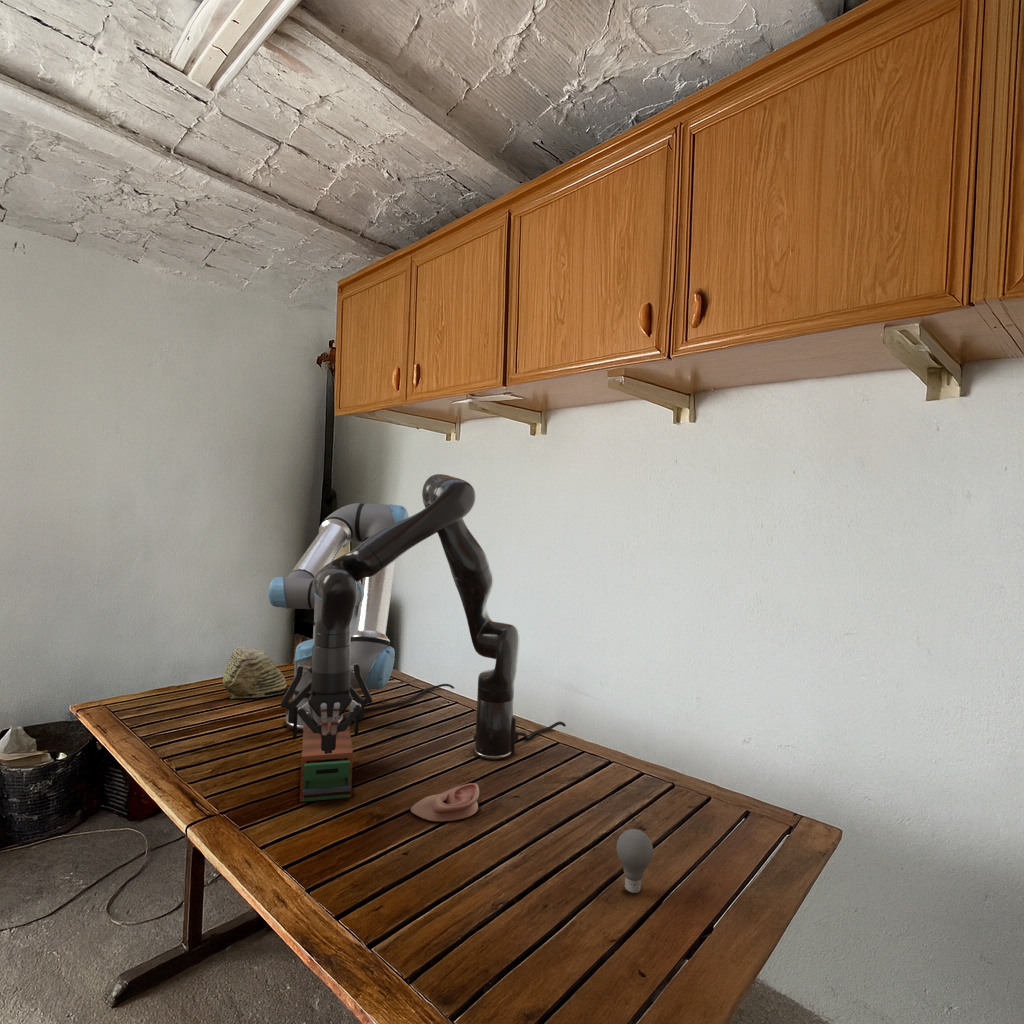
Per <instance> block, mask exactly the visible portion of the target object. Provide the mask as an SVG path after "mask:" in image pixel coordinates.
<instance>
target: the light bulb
mask: <svg viewBox="0 0 1024 1024" xmlns="http://www.w3.org/2000/svg"><path fill="white" fill-rule="evenodd" d="M615 849H616V854H617V857H618V859H619V861H620V863H621V865H622V867H623V873H624V874H623V875H624V876H625V878H624V888H625V890H627V891H628V892H630V893H634V894H635V893H639V892H640V891H641V889H642V887H641V886H642V879H643V877H644V875H645V871H646V868H647V867H648V866H649V864H650V863H651V861H652V859H653V855H654V847H653V843H652V841H651V838H649V836H648V835H647V834H646V833H645V832H643V831H642V830H641V829H636V828H629V829H627V830H625V831H623V832H622V833H621V834H620V835H619V837H618V839H617V841H616V847H615Z"/></svg>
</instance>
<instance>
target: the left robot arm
mask: <svg viewBox="0 0 1024 1024" xmlns="http://www.w3.org/2000/svg"><path fill="white" fill-rule="evenodd" d="M409 517H410V516H409V512H408V510H407V508H406V507H405V506H403V505H397V504H392V503H390V504H383V503H382V504H381V503H361V502H359V503H358V502H356V503H355V502H354V503H350V504H347V505H344V506H342V507H340V508H338V509H336V510H335V511H333V512H332V513H330V514H329V515H328V516H327V517H326V518H324V519H323V521H322V523H321V524H320V526H319V528H318V534H317V535H316V537H315V538H314V540H313V541H312V542H311V544H310V545H309V547H308V548H307V550H306V551H305V552H304V554H303V555H302V556H301V558H299V561H298V562H297V563H296V565H295V566H294V568H293V569H292V570H291V572H289V574H288V575H287V576H283V575H282V576H276V577H273V579H272V580H271V581H270V584H269V586H268V591H267V592H268V593H267V595H268V601H269V604H270V605H271V606H272V607H274V608H284V609H286V610H289V609H294V610H295V609H296V610H313V627H312V628H313V631H312V632H313V633H312V639H307V640H304V641H302V642H300V643H298V644H297V645H296V647H295V655H294V659H293V661H294V670H293V671H294V672H293V679H292V681H291V683H290V684H289V686H288V688H287V690H286V691H285V692H284V695H283V697H282V698H281V701H280V707H281V708H282V709H287V710H286V711H285V726H286V728H287V729H289V730H291V731H292V740H297V737H298V736H297V735H298V732H301V733H303V727H304V725H306V723H305V722H304V721H303V720H302V718H301V717H300V716H299V715H298V713H297V712H298V707H299V706H301V705H302V706H303V705H304V704H305V703H307V702H308V698H309V696H310V694H311V682H312V657H313V650H314V639H315V623H316V620H317V618H318V617H319V616H321V611H322V599H321V598H319V597H318V596H317V595H316V594H315V592H314V590H313V586H312V584H313V579H314V577H315V575H316V574H317V572H318V571H319V570H320V569H321V568H323V567H324V566H325V565H327V564H328V563H330V562H332V561H333V560H335V559H337V556H338V554H339V553H340V551H341V550H342V548H345V547H346V546H348V545H349V544H350V543H351V542H358V543H363V542H364V541H365V540H367V539H368V538H369V537H371V536H372V535H373V534H375V533H376V532H378V531H379V530H381V529H383V528H385V527H387V526H389V525H391V524H394V523H396V522H399V521H401V520H404V519H406V518H409ZM396 561H397V559H396V560H394V561H393V562H392V563H391V564H389V565H388V566H387V567H385V568H384V569H383V570H382V571H380V572H379V573H378V574H376V575H374V576H372V577H366V578H363V579H362V582H361V581H358V582H357V600H356V605H355V609H357V608H358V609H357V616H356V621H355V622H356V623H355V628H354V632H353V633H351V641H350V648H351V674H350V693H351V695H352V700H354V701H355V702H356V703H360V704H361V708H362V710H361V712H360V713H359V714H358V715H357V717H356V718H355V719H354V724H353V725H354V726H353V727H354V728H353V733H354V736H359V725H360V724H359V722H360V721H361V720H362V721H363V720H364V719H365V718H364V717H365V711H371V710H376V709H382V708H388V707H394V706H399V705H403V704H406V703H408V702H411V701H413V700H414V699H416V698H418V697H419V696H421V695H423V694H424V693H426V692H428V691H432V690H435V689H439V688H441V687H448V688H451V689H452V690H454V689H455V687H454V686H453V685H452V684H450V683H441V684H437V685H434V686H430V687H427V688H424V689H423V690H421V691H420V692H418V693H415V694H414V695H413V696H411V697H410V698H407V699H404V700H402V701H398V702H392V703H386V704H379V705H373V706H369V707H365V706H367V705H368V704H372V703H373V696H372V695H371V693H370V690H382V689H383V688H384V687H385V686H386V685H387V684H388V682H389V681H390V678H391V675H392V673H393V670H394V664H395V657H396V656H395V655H396V653H395V651H396V650H395V648H394V647H393V646H390V645H391V640H390V639H389V638H388V636H387V628H388V627H387V626H388V620H389V613H390V606H391V605H390V604H391V597H392V590H393V582H394V575H395V568H396ZM356 689H360V690H361V692H362V694H363V697H362V696H361V695H360V694H359V692H358V691H357V690H356ZM292 696H293V697H292ZM291 698H292V699H291ZM290 700H291V701H290ZM310 710H311V712H310V715H311V716H312V717H313V718H314V720H315V721H316V722H317V723H318V724H321V717H319V716H317V714H316V713H315V712H314V710H313V709H312V708H311V706H310ZM344 713H349V708H346V710H345V711H344V712H343V714H342V715H341V716H339V718H338V723H340V722H341V721H342V720H343V719H344ZM327 721H328V723H331V717H329V718H327Z"/></svg>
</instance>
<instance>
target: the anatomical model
mask: <svg viewBox="0 0 1024 1024" xmlns="http://www.w3.org/2000/svg"><path fill="white" fill-rule="evenodd" d="M479 796H480V787H479V785H478V784H477V783H475V782H470V783H466V784H462V785H458V786H456V787H453V788H451V789H448V790H446V791H443V792H441V793H438V794H433V795H429V796H425V797H424V798H421V799H420V800H418V801H417V802H416V803H414V804H413V805H412V806H411V808H410V812H411V813H412V814H414V815H415V816H417V817H419V818H421V819H423V820H427V821H429V822H451V821H457V820H458V821H459V820H462V819H466V818H469V817H471V816H473V815H475V814H476V813H477V812H478V810H479V804H478V799H479Z"/></svg>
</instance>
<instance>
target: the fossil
mask: <svg viewBox="0 0 1024 1024" xmlns="http://www.w3.org/2000/svg"><path fill="white" fill-rule="evenodd" d="M222 676H223V677H222V685H223V687H224V688H225V690H226V691H228V693H229V698H230V699H250V698H264V697H271V696H275V695H281V694H284V693H285V692H286V691H287V690H286V689H287V687H288V686H287V680H286V678H285V676H284V674H283V673H282V672H281V669H279V668H278V667H277V665H276V663H275V662H274V660H273V659H272V658H271V657H270V656H269V655H268V654H267V653H266V652H265V650H264V649H263V648H260V647H258V648H251V647H247V646H246V647H245V646H238V647H237V648H236V649H235V650H233V651H232V653H231V656H230V657H229V659H228V660H227V663H226V666H225V668H224V671H223V675H222Z"/></svg>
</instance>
